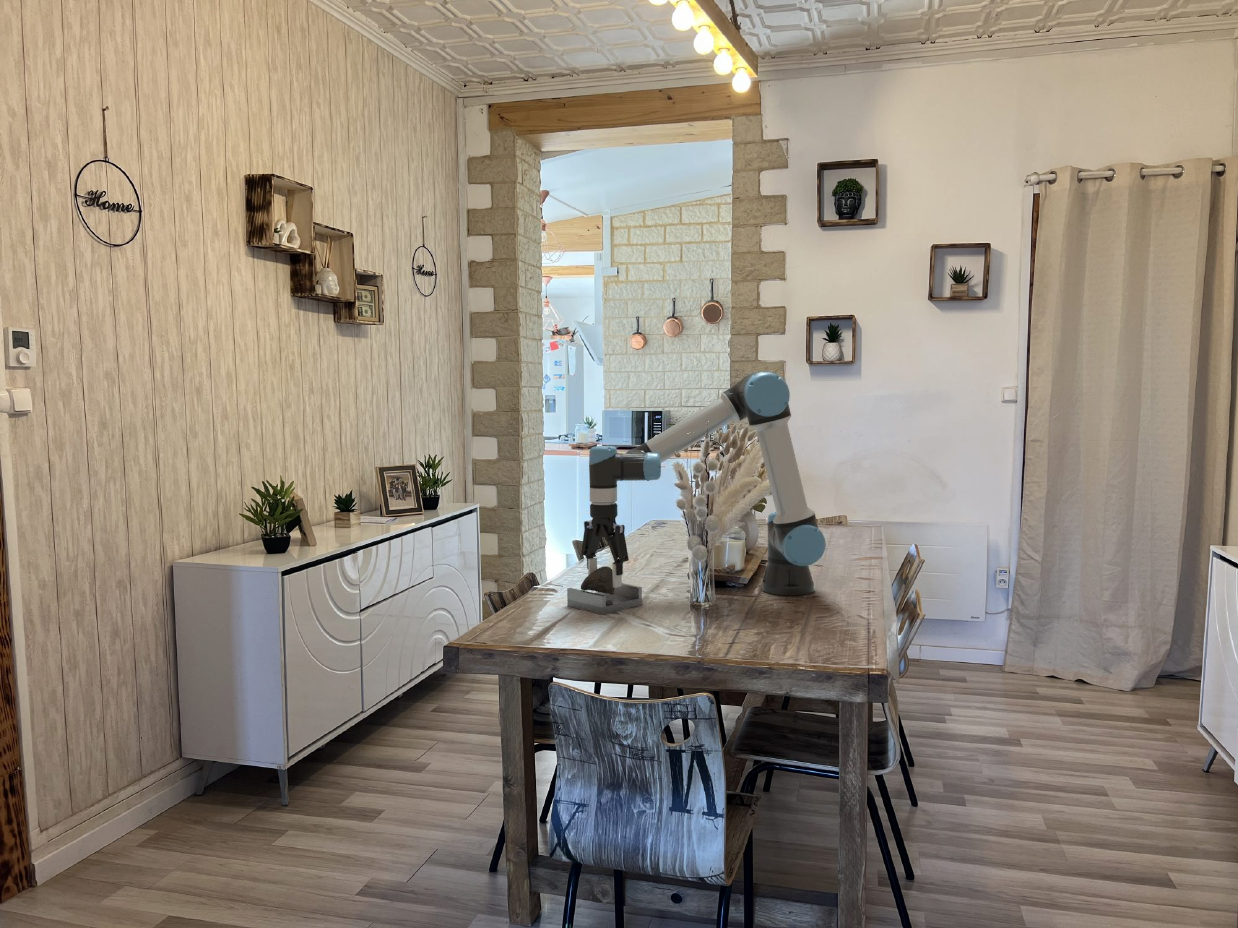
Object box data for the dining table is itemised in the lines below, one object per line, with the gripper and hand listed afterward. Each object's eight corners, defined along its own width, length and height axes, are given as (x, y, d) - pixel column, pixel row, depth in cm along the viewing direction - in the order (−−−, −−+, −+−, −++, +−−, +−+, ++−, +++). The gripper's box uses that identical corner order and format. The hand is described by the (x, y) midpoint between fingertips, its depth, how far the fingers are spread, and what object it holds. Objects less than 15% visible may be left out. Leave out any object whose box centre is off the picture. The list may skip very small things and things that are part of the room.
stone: (592, 606, 241) (623, 585, 242) (574, 581, 243) (605, 559, 244) (596, 610, 250) (625, 589, 251) (579, 585, 253) (608, 564, 253)
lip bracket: (641, 604, 248) (641, 587, 248) (602, 614, 238) (602, 596, 237) (606, 596, 258) (606, 579, 258) (567, 606, 248) (567, 588, 247)
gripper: (641, 504, 241) (642, 587, 243) (586, 498, 256) (588, 576, 258) (621, 507, 235) (623, 592, 237) (566, 500, 251) (568, 580, 253)
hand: (604, 583), depth 248 cm, fingers closed on stone, 9 cm apart
